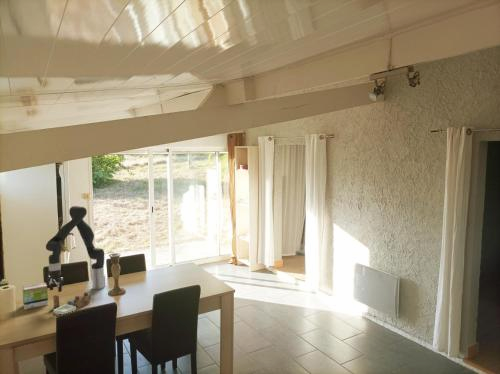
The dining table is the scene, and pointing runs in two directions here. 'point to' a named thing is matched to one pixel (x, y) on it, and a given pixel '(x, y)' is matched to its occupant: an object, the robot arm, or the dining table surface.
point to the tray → (64, 309)
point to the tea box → (35, 295)
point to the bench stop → (82, 300)
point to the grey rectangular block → (71, 302)
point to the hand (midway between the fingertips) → (55, 290)
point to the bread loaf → (56, 301)
